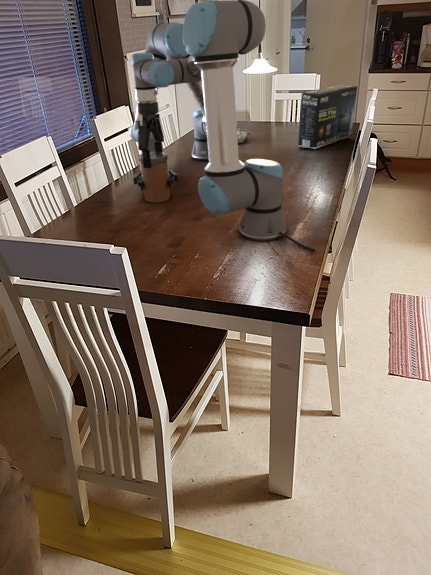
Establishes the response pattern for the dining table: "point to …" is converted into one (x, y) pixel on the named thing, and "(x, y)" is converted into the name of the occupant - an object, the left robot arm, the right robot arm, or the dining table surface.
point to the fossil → (242, 134)
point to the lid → (155, 157)
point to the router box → (326, 115)
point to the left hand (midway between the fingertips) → (155, 185)
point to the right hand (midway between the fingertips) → (153, 163)
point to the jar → (155, 182)
